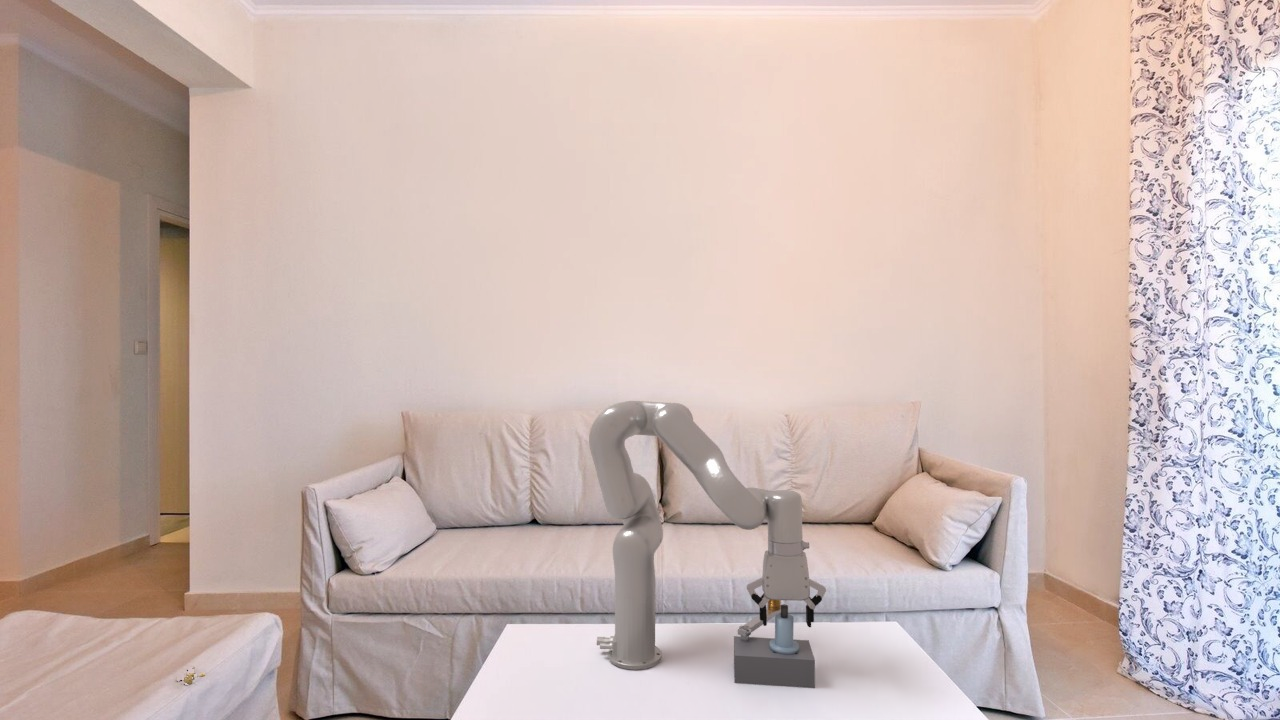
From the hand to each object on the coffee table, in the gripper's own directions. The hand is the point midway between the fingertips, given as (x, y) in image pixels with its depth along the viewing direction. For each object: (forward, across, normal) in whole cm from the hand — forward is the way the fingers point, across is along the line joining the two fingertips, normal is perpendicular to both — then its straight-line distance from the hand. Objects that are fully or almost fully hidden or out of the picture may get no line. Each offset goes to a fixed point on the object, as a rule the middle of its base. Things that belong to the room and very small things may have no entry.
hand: (786, 624), depth 147 cm
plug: (+9, +1, 0) cm, 9 cm away
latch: (+4, +5, -10) cm, 12 cm away
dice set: (+10, +130, +19) cm, 132 cm away
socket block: (+11, +3, 0) cm, 12 cm away
